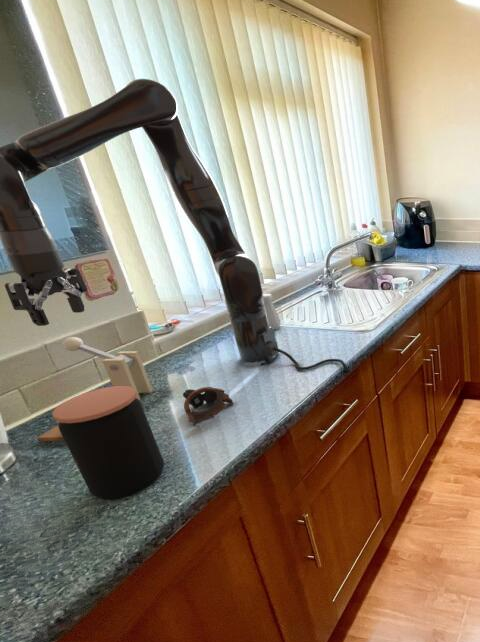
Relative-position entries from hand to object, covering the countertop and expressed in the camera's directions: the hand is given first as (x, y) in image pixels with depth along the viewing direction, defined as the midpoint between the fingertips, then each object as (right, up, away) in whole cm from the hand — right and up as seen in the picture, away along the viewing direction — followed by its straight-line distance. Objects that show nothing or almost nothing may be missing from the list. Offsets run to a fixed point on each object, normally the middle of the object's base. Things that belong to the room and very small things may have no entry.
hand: (62, 318), depth 94 cm
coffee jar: (+32, -32, -17) cm, 48 cm away
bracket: (+10, -21, +9) cm, 25 cm away
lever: (+4, -10, +4) cm, 11 cm away
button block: (+9, -26, -3) cm, 28 cm away
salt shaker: (+18, -4, +53) cm, 56 cm away
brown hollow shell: (+32, -23, +4) cm, 40 cm away
